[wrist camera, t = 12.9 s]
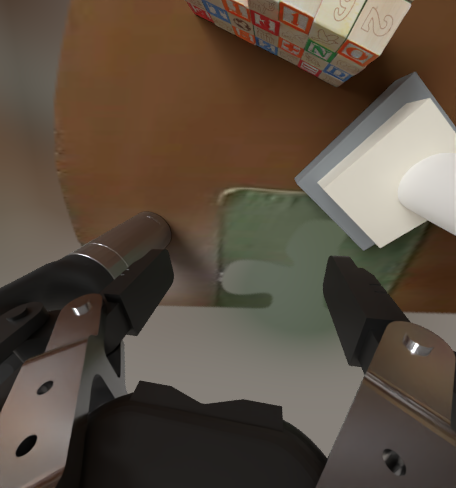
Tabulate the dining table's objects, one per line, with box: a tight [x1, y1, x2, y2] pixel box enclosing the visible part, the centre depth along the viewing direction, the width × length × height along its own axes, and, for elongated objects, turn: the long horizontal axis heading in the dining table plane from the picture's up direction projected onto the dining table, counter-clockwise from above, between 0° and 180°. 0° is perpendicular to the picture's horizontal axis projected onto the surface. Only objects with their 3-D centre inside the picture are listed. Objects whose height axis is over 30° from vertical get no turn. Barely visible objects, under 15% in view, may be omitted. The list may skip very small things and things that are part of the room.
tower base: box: [294, 72, 456, 251], centre depth 26 cm, size 16×16×8 cm
